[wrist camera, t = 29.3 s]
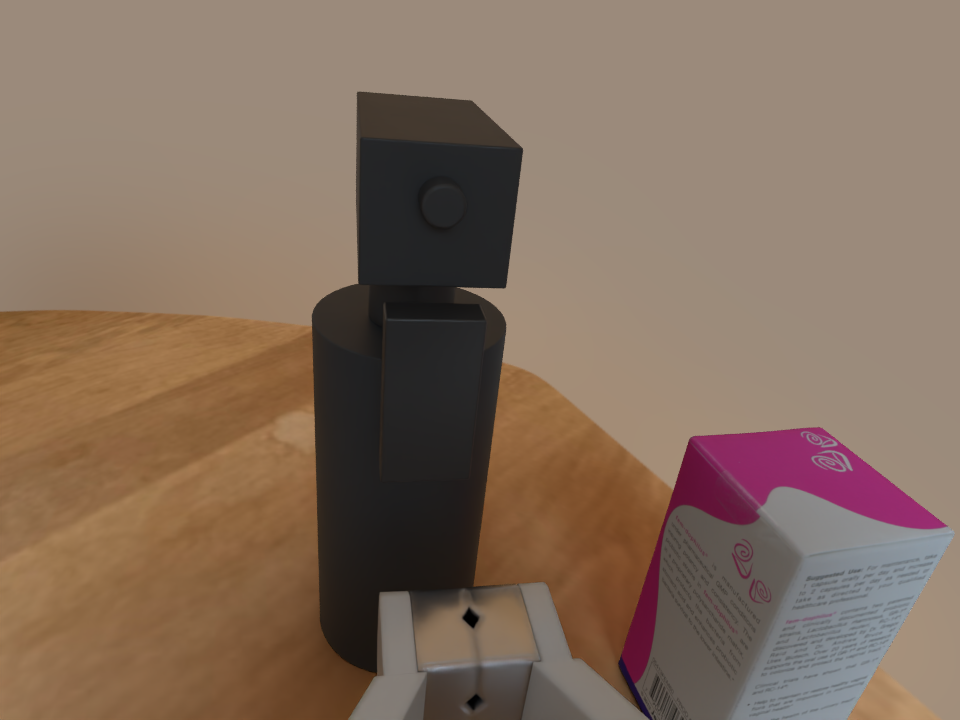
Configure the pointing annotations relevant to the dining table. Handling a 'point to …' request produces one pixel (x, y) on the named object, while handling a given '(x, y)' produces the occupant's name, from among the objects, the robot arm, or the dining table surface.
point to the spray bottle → (358, 353)
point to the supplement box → (775, 581)
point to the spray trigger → (429, 390)
